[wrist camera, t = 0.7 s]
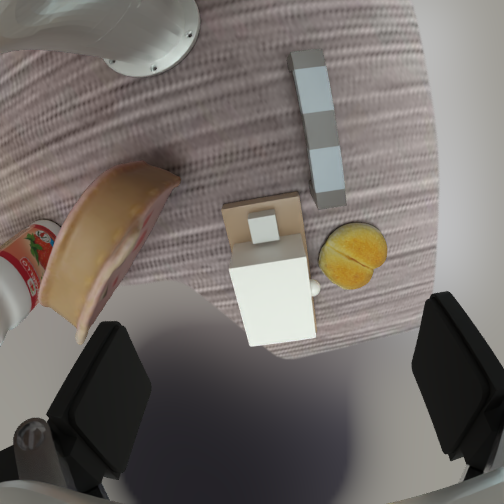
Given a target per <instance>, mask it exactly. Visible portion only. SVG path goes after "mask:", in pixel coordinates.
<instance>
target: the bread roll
mask: <svg viewBox="0 0 504 504" xmlns="http://www.w3.org/2000/svg"><path fill="white" fill-rule="evenodd" d="M386 257H387V245H386V241H385V239H384V237H383V236H382V234H381V232H380V231H379V230H378V229H376V228H375V227H373V226H372V225H369V224H365V223H350V224H346V225H343V226H341V227H339V228H338V229H336V230H335V231H334V232H333V233H332V234H331V235H330V236H329V238H328V239H327V241H326V243H325V244H324V246H323V247H322V249H321V251H320V255H319V262H318V263H319V267H320V269H321V270H322V272H323V273H324V274H325V275H326V276H327V277H328V278H329V280H330V281H332V283H334V284H336V285H338V286H339V287H341V288H343V289H345V290H347V289H357V288H360V287H362V286H364V285H366V284H367V283H368V282H369V281H370V279H371V277H372V275H373V269H375V268H377V267H380V266H381V265H382V264H383V263H384V261H385V260H386Z"/></svg>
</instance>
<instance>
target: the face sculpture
mask: <svg viewBox="0 0 504 504" xmlns="http://www.w3.org/2000/svg"><path fill="white" fill-rule="evenodd" d="M180 183H181V178H180V177H179V176H176V175H174V174H172V173H171V172H169V171H167V170H164V169H161V168H158V167H154V166H151V165H149V164H147V163H146V162H145V161H143V160H140V161H132V162H129V163H124V164H119V165H115V166H113V167H111V168H110V169H108V170H106V171H105V172H103V173H102V174H101V175H100V176H98V177H97V178H96V179H95V180H94V181H93V182H92V184H91V185H90V186H89V187H88V188H87V189H86V190H85V191H84V192H83V194H82V195H81V197H80V198H79V199H78V201H77V202H76V204H75V205H74V206H73V208H72V210H71V211H70V213H69V214H68V216H67V218H66V220H65V221H64V223H63V225H62V227H61V229H60V231H59V233H58V235H57V237H56V239H55V242H54V245H53V248H52V251H51V254H50V257H49V260H48V264H47V267H46V270H45V273H44V275H43V278H42V281H41V284H40V288H39V293H38V300H39V303H40V304H41V305H42V306H45V307H50V308H52V309H53V310H54V311H56V312H57V313H58V314H60V315H61V316H62V317H64V318H65V319H67V320H68V321H69V322H70V323H72V325H74V326H75V327H76V328H77V332H76V335H75V337H76V342H77V343H78V344H79V345H82V344H83V343H84V341H85V339H86V337H87V334H88V330H89V329H90V327H91V325H92V324H93V323H94V321H95V320H96V318H97V317H98V315H99V314H100V312H101V311H102V309H103V308H104V306H105V304H106V303H107V301H108V300H109V299H110V297H111V296H112V294H113V292H114V291H115V289H116V288H117V287H118V285H119V284H120V282H121V281H122V280H123V278H124V277H125V275H126V273H127V272H128V270H129V269H130V267H131V265H132V263H133V261H134V259H135V258H136V256H137V254H138V253H139V251H140V249H141V248H142V246H143V245H144V243H145V241H146V239H147V237H148V236H149V234H150V232H151V230H152V229H153V227H154V225H155V223H156V221H157V219H158V217H159V215H160V213H161V211H162V209H163V207H164V205H165V203H166V201H167V199H168V197H169V195H170V193H171V192H172V190H173V188H175V187H177V186H178V185H179V184H180Z"/></svg>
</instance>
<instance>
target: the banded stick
mask: <svg viewBox="0 0 504 504" xmlns="http://www.w3.org/2000/svg"><path fill="white" fill-rule="evenodd" d="M287 64H288V69H289V72H293V76H294V81H295V86H296V91H297V96H298V101H299V107H300V112H301V116H302V122H303V127H304V133H305V139H306V145H307V152H308V158H309V165H310V171H311V178H312V181H309V186H310V192H311V195H312V197H313V199H314V202H315V204H316V206H317V208H318V210H320V209H327V208H333V207H340V206H346V205H347V204H346V195H345V183H344V175H343V166H342V159H341V151H340V146H339V139H338V132H337V125H336V119H335V113H334V106H333V100H332V94H331V89H330V83H329V78H328V73H327V68H326V64H325V59H324V55H323V50H322V49H313V50H304V51H296V52H291V53H290V55H289V57H288V59H287Z"/></svg>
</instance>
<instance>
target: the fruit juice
mask: <svg viewBox="0 0 504 504" xmlns="http://www.w3.org/2000/svg"><path fill="white" fill-rule="evenodd" d="M60 229H61V227H59V226H58V225H57V224H56V223H54V222H52V221H49V220H38V221H36V222H34V223H32V224H30V225H29V226H27V227H26V228H25V229H23V230H22V231H20V232H19V233H18V234H16V235H15V236H13V237H12V238H11V239H9V240H8V241H7V242H5V243H4V244H3V245H1V246H0V346H1V345H2V343H3V341H4V339H5V336H6V334H7V332H8V330H11V329H13V328H15V327H16V326H18V325H19V324H20V323H21V322H22V321H23V320H24V319H25V318H26V317H27V316H28V314H29V313H30V312H31V310H32V309H33V308H34V307H35V306H36V305H37V304H38V303H39V300H38V293H39V288H40V284H41V281H42V278H43V275H44V273H45V270H46V267H47V264H48V260H49V257H50V254H51V251H52V248H53V245H54V242H55V239H56V237H57V235H58V233H59V231H60Z"/></svg>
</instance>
